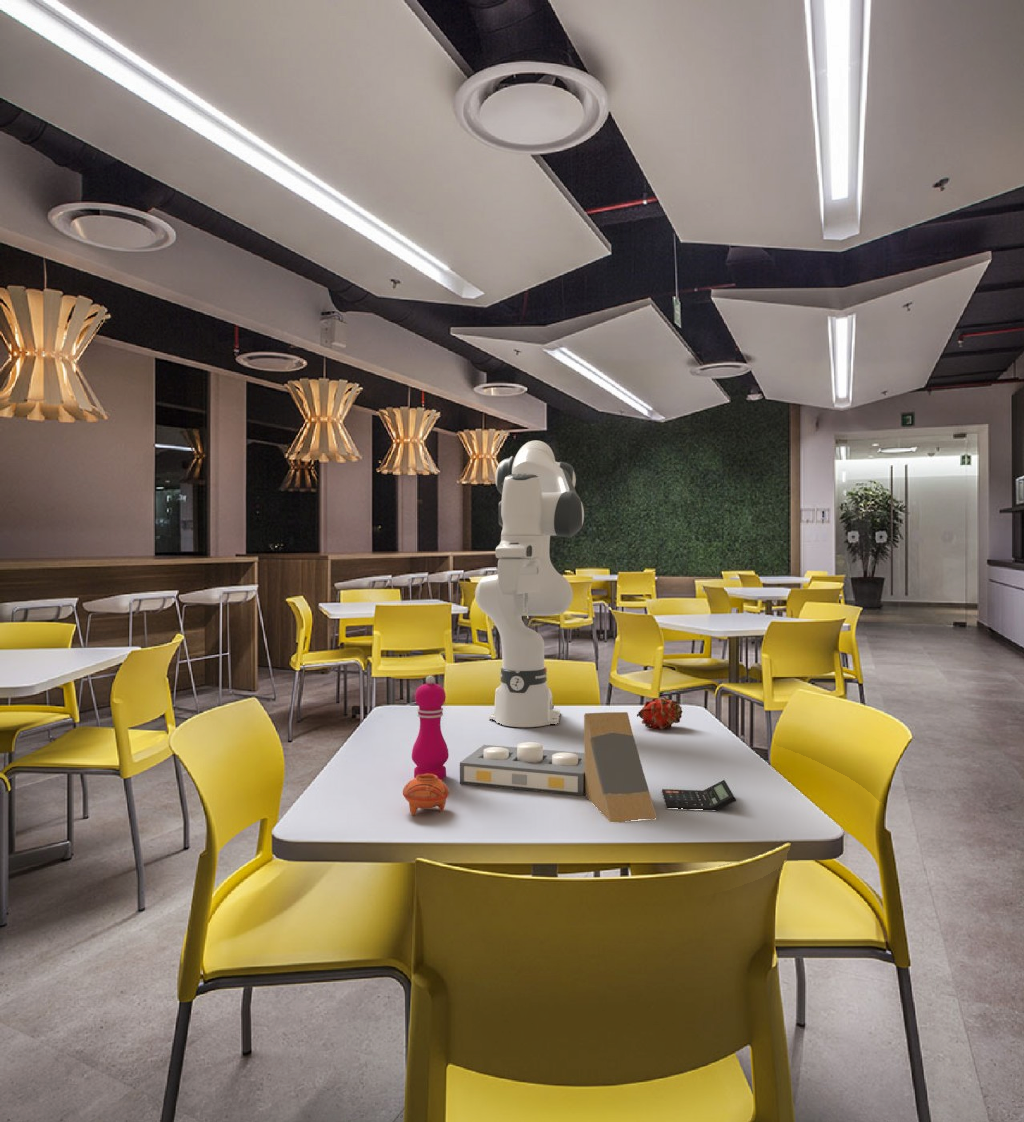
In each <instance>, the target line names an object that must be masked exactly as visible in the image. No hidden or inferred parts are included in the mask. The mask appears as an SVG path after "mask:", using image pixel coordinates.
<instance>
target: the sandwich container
mask: <svg viewBox="0 0 1024 1122" xmlns="http://www.w3.org/2000/svg"><path fill="white" fill-rule="evenodd" d="M583 723H584V724H583V727H584V730H583V732H584V736H583V737H584V740H583V741H584V744H583V745H584V753H585V794H584V796H586V795H587V796H586V797H587V799H588V800H589V799H590V800H589V801H590V802H591V804H592V803H593V804H594V805H595V806H594V805H593V804H592V805H593V806H594V807H595V808H596V807H597V808H598V809H597V808H596V809H597V810H598V812H600V811H601V812H600V813H601V814H602V816H604V818H606V820H608V821H609V822H610V823H611V822H619V823H626V822H625V821H631V820H638V819H655V818H657V819H658V816H657V812H656V810H655V806H654V803H653V800H652V797H651V792H650V790H649V787H648V784H647V780H646V776H645V773H644V770H643V765H642V762H641V758H640V754H639V751H638V747H637V743H636V740H635V737H634V733H633V729H632V725H631V722H630V718H629V714H628V712H627V711H624V712H623V711H622V712H615V711H614V712H612V711H611V712H587V713H584V715H583Z"/></svg>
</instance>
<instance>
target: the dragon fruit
mask: <svg viewBox="0 0 1024 1122" xmlns="http://www.w3.org/2000/svg"><path fill="white" fill-rule="evenodd" d="M682 713H683V710H682V706H680V704H678V702H677V701H676V700H673V699H668V698H667V697H665V696H662V698H661V699H660V698H659V699H658V698H657V697H652V699H651V700H650V701H646V702H645V704H644V706H642V708H641V709H640V710H639V711H638V712H637V714H636V717H637V718H638V717H640V719H642V721H641V724H642V725H644V727H645V728H651V729H655V728H659V729H660V730H664V729H670V728H672V726H673V724H678V723H680V722H681V719H682Z"/></svg>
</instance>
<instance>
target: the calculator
mask: <svg viewBox="0 0 1024 1122" xmlns="http://www.w3.org/2000/svg"><path fill="white" fill-rule="evenodd" d="M661 793H663V794H662V797H663V796H664V797H663V800H664V799H665V800H664V803H666V804H665V807H666V806H667V807H666V809H667V808H678V809H681V808H683V809H703V810H716V811H718V810H721V809H723V808H724V807H726V806H728V805H731V804H732V803H734V802H737V799H736V797H735V795H734V793H733V792H732V790H731V788H730V787H729V785H728V783H727V782H726V780H725V779H723V780H721V781H719V782H717V783H715V784H714V785H711V786H710V787H707V788H706V789H701V790H700V789H699V790H697V789H695V790H693V789H673V788H672V789H667V788H663V789H661Z"/></svg>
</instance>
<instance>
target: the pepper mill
mask: <svg viewBox="0 0 1024 1122" xmlns="http://www.w3.org/2000/svg"><path fill="white" fill-rule="evenodd" d="M435 680H436V679H435V677H434V676H433V675H428V676H427V677H426V678H425V682H426V683H424V684H421V685H420V686H418V688H417V689H416V691H415V693H414V701H415V703H416V705H417V706H418V708H417V717H419V730H418V734H417V737H416V739H415V741H414V744H413V747H412V750H411V760H412V761H413V763H414V764H415V765H416V767H414V769H413V777H414V778H416V776H417V775H424V774H434V775H436V776H437V777H438V779H440V780H441V781H443V780H444V779H446V778H447V767H446V766H445V764H446V762H447V761H448V760H449V747H448V744H447V742H446V740H445V739H444V736H443V733H442V728H441V726H442V725H441V721H442V719H441V718H442V717H443V715H444V713H443V711H444V709H443V707H442V706H444V703H445V702H446V698H447V697H446V692H445V690H444V688H443V686H441V685H440V684H437V683H435ZM414 778H413V779H414Z"/></svg>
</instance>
